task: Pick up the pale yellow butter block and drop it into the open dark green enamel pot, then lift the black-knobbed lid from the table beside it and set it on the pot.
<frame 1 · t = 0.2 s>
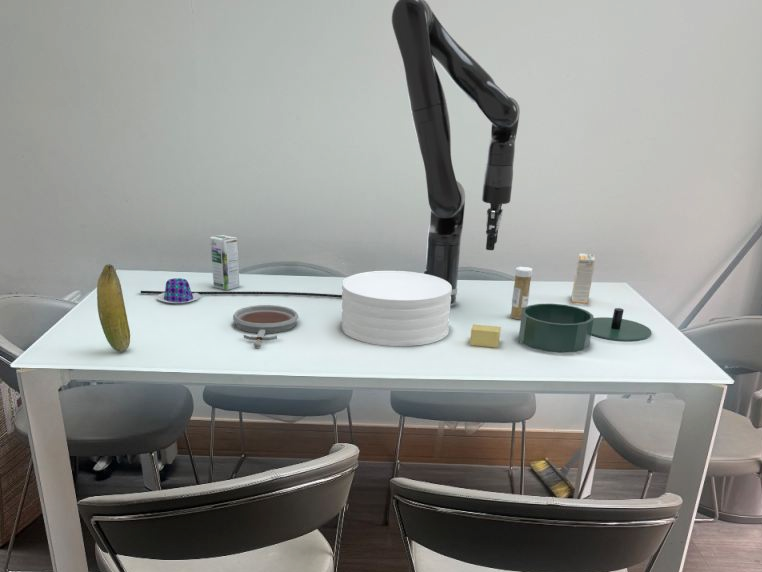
hand: (491, 246, 210), 17 cm above the table, tool pointing down, fingers open, 8 cm apart
sprinkles bottle: (517, 318, 212), on the table
pot: (553, 342, 195), on the table
plate stack: (395, 329, 201), on the table
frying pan: (263, 331, 196), on the table
syrup box: (226, 287, 229), on the table
butter: (484, 343, 192), on the table
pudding: (179, 299, 217), on the table
supplement box: (579, 302, 228), on the table
pot lid: (615, 329, 204), point 1 cm above the table
vegetable: (118, 352, 179), on the table
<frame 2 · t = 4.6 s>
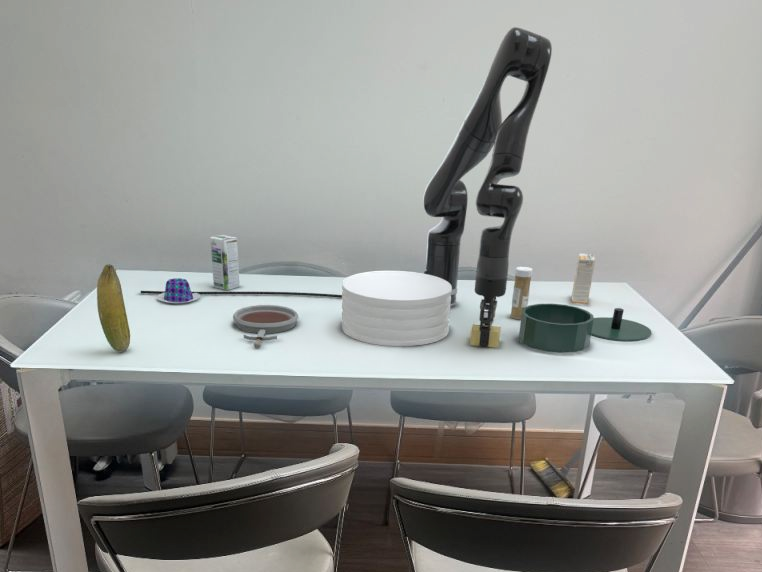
hand: (484, 342, 192), 0 cm above the table, tool pointing down, fingers closed on butter, 4 cm apart
butter: (484, 343, 192), on the table, touching gripper
everything else where it was.
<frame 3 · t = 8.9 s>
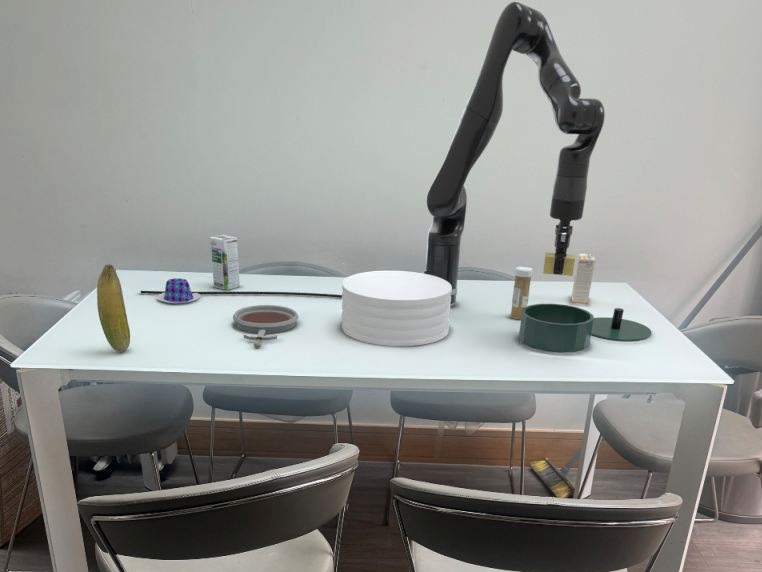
hand: (557, 271, 185), 18 cm above the table, tool pointing down, fingers closed on butter, 4 cm apart
butter: (557, 272, 185), point 18 cm above the table, touching gripper
everything else where it was.
when the fingers open (1 cm above the table, at t = 13.2 s): butter stays where it is, resting on pot.
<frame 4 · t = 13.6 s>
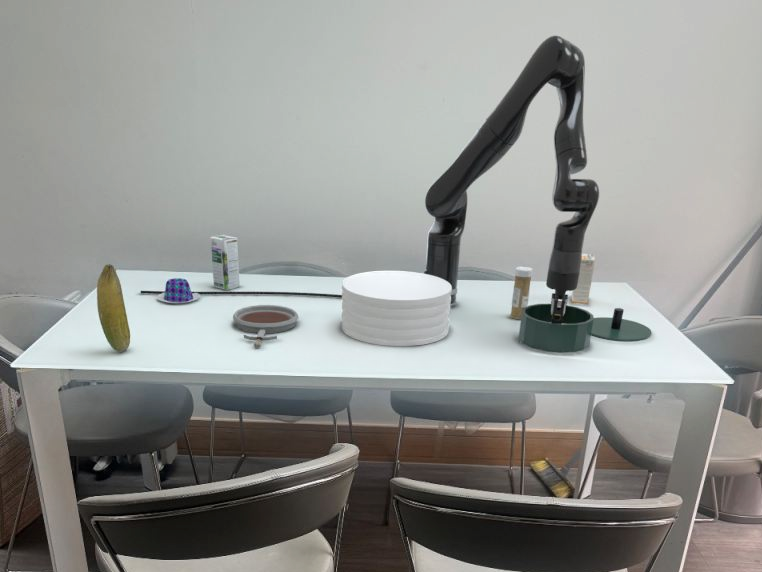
hand: (554, 333, 193), 2 cm above the table, tool pointing down, fingers open, 8 cm apart
butter: (553, 340, 195), resting on pot
everything else where it was.
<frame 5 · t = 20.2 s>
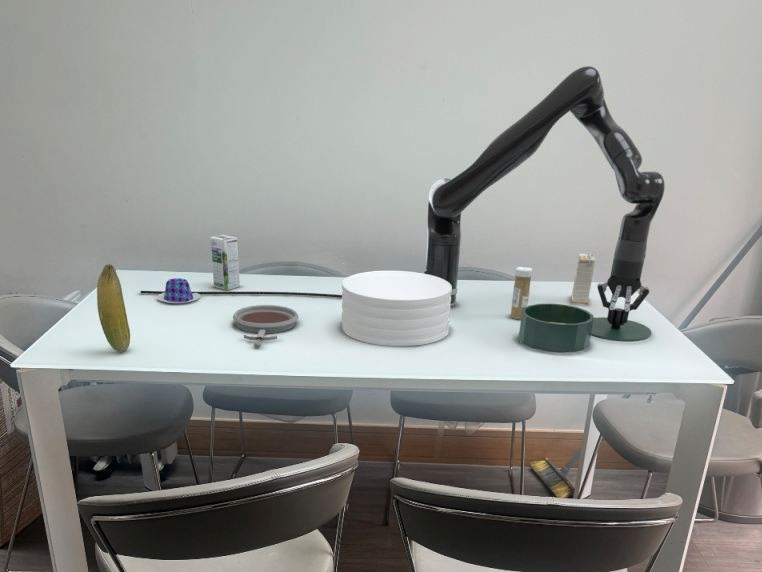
hand: (616, 323, 203), 2 cm above the table, tool pointing down, fingers closed on pot lid, 2 cm apart
pot lid: (615, 329, 204), point 1 cm above the table, touching gripper
everything else where it was.
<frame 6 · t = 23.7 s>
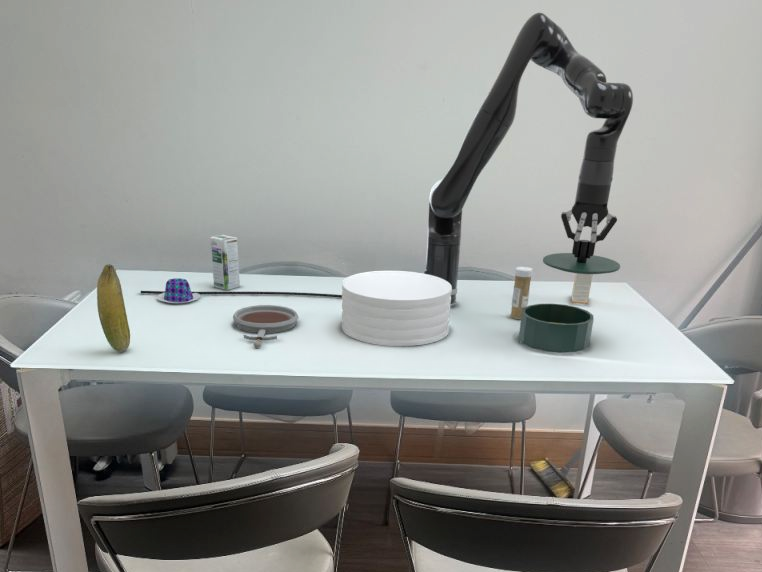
hand: (581, 256, 186), 21 cm above the table, tool pointing down, fingers closed on pot lid, 2 cm apart
pot lid: (580, 264, 187), point 19 cm above the table, touching gripper
everything else where it was.
when the fingers open (9 cm above the table, at t = 27.1 s): pot lid stays where it is, resting on pot.
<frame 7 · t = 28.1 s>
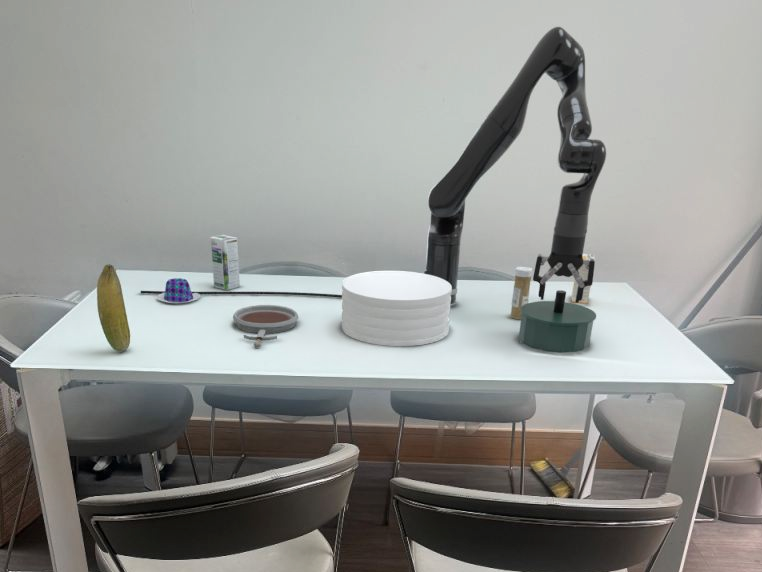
hand: (559, 300, 189), 11 cm above the table, tool pointing down, fingers open, 8 cm apart
pot lid: (557, 313, 191), point 7 cm above the table, touching pot
everything else where it was.
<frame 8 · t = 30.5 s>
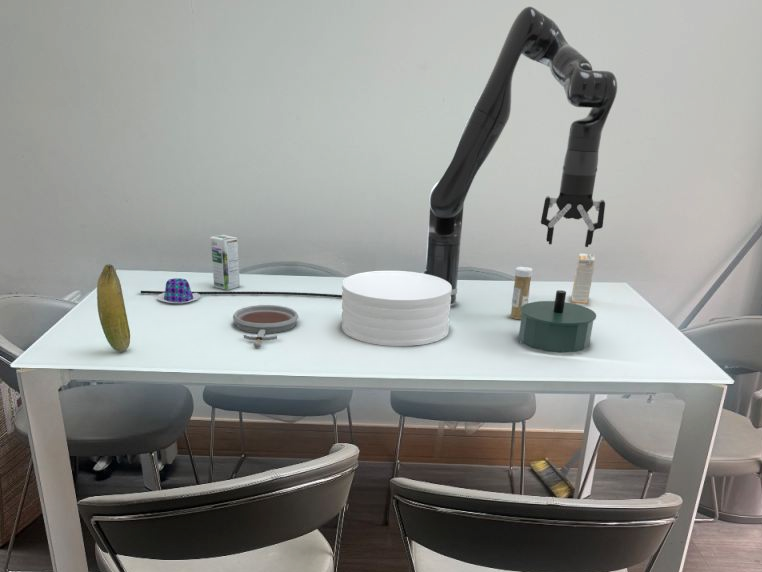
hand: (568, 245, 182), 24 cm above the table, tool pointing down, fingers open, 8 cm apart
nothing on the table moved.
at the end: butter inside the target area in the pot (0.1 cm from its centre), point 0.5 cm above the pot's base; pot lid 0.1 cm off-centre on the pot, point 7.5 cm above the pot's base; pot lid tilted 0° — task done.
